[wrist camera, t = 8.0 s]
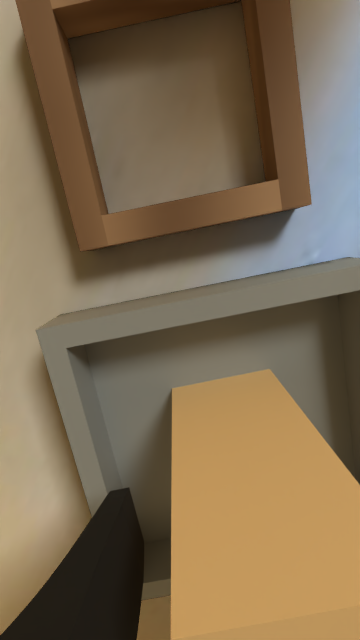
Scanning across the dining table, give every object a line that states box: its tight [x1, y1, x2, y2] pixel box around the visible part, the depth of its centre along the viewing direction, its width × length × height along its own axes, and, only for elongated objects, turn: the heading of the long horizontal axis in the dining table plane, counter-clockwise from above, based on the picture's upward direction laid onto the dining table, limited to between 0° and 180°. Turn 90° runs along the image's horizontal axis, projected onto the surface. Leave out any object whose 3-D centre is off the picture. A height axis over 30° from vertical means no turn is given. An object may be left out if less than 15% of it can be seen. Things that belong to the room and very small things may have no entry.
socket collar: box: [16, 0, 311, 251], centre depth 11 cm, size 8×8×2 cm
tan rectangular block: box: [171, 369, 360, 640], centre depth 10 cm, size 4×4×9 cm
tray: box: [36, 257, 360, 600], centre depth 14 cm, size 12×12×2 cm
